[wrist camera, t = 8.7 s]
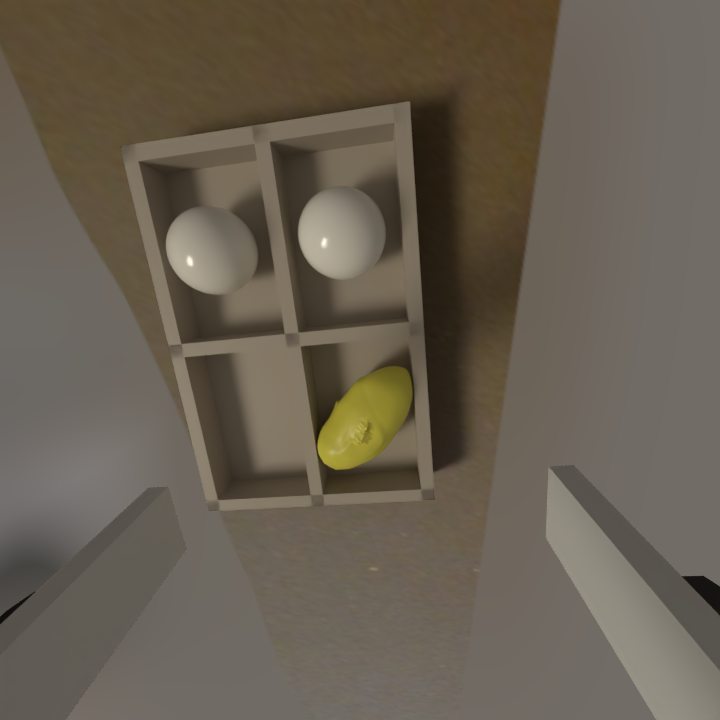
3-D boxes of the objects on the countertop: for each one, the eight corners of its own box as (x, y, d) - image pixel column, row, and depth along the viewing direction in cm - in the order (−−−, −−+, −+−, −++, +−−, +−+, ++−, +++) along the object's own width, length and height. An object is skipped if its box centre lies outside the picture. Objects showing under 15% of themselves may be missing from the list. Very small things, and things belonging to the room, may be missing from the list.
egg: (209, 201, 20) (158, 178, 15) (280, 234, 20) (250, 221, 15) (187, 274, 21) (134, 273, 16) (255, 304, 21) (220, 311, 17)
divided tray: (155, 164, 20) (120, 146, 17) (405, 127, 19) (409, 101, 16) (227, 486, 25) (208, 511, 22) (428, 474, 24) (434, 499, 21)
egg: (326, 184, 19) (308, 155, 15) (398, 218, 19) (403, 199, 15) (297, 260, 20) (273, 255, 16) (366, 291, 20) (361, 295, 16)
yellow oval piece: (305, 428, 23) (290, 458, 19) (384, 343, 21) (384, 357, 17) (351, 466, 23) (346, 502, 19) (432, 386, 22) (442, 409, 18)
